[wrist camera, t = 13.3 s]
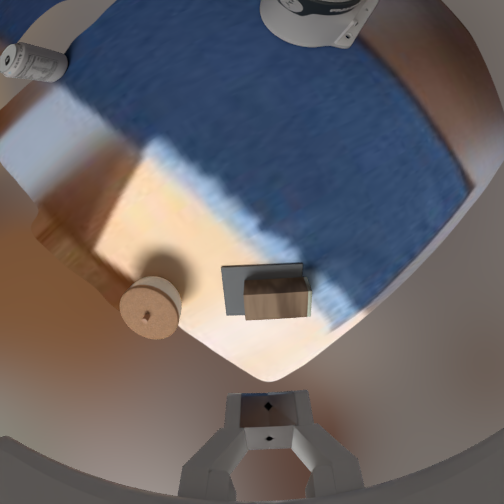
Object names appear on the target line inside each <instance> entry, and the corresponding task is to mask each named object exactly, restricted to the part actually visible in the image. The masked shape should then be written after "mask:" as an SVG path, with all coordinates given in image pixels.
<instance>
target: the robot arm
mask: <svg viewBox="0 0 504 504" xmlns="http://www.w3.org/2000/svg"><path fill="white" fill-rule="evenodd" d="M378 2H379V0H261V3H260V14H261V18H262V20H263V22H264V24H265V25H266V26H267V28H268V29H269V30H270V31H271V32H272V33H273V34H275V35H276V36H277V37H279V38H281V39H282V40H284V41H286V42H289V43H292V44H295V45H298V46H304V47H321V46H334V47H338V48H343V49H347V48H349V47H350V46H351V45H352V43H353V42H354V40H355V38H356V37H357V35H358V34H359V32H360V30H361V29H362V27H363V26H364V24H365V22H366V21H367V19H368V18H369V16H370V14H371V13H372V11H373V10H374V8H375V6H376V5H377V3H378ZM346 36H348V37H349V39H348V38H346ZM269 447H270V449H278V448H280V449H281V448H292V450H293V451H294V452H295V454H296V455H297V456H298V457H299V458H300V459H301V461H302V462H303V463H304V464H305V465H306V466H307V468H308V469H309V470H310V471H311V472H312V473H311V476H310V478H309V481H308V483H307V486H306V489H305V492H306V498H304V499H295V500H282V501H260V502H259V501H258V502H242V501H241V502H240V501H236V490H235V488H234V485H233V483H232V480H231V477H230V474H231V473H232V472H233V470H234V469H235V468H236V466H237V465H238V464H239V462H240V461H241V459H242V458H243V457H244V455H245V454H246V453H247V450H257V449H269ZM0 504H504V428H503V429H501V430H499V431H498V432H496V433H495V434H493V435H491V436H490V437H488V438H486V439H485V440H483V441H481V442H479V443H478V444H476V445H474V446H472V447H470V448H468V449H467V450H465V451H463V452H461V453H459V454H457V455H455V456H453V457H450V458H448V459H446V460H444V461H442V462H439V463H437V464H435V465H432V466H430V467H428V468H425V469H422V470H420V471H417V472H415V473H412V474H409V475H406V476H403V477H401V478H397V479H394V480H391V481H388V482H384V483H381V484H377V485H373V486H370V487H364V483H363V479H362V474H361V470H360V466H359V462H358V458H356V457H355V456H354V455H353V454H352V453H350V452H349V451H348V450H347V449H346V448H345V447H344V446H342V445H341V444H340V443H339V442H338V441H337V440H336V439H334V438H333V437H332V436H331V435H330V434H329V433H328V432H327V431H326V430H324V429H323V428H322V427H321V426H320V425H319V424H314V422H313V416H312V410H311V405H310V399H309V393H308V391H307V390H300V391H285V392H271V393H251V394H250V393H228V396H227V402H226V412H225V423H224V428H220V429H219V430H218V431H217V432H216V433H215V434H214V435H213V436H212V437H211V438H210V439H209V440H208V441H207V443H205V445H204V446H203V447H202V448H201V449H200V450H199V451H198V452H197V453H196V454H195V455H194V456H193V457H192V458H191V459H190V460H189V461H188V462H187V463H186V464H185V465H184V466H183V468H182V473H181V479H180V485H179V491H178V496H173V495H167V494H161V493H155V492H151V491H146V490H142V489H138V488H133V487H129V486H125V485H122V484H118V483H115V482H112V481H108V480H105V479H102V478H99V477H96V476H93V475H90V474H87V473H85V472H82V471H79V470H77V469H74V468H72V467H69V466H67V465H64V464H62V463H60V462H57V461H55V460H53V459H51V458H49V457H47V456H45V455H42V454H40V453H38V452H37V451H35V450H32V449H31V448H29V447H27V446H25V445H23V444H22V443H20V442H18V441H16V440H15V439H13V438H11V437H9V436H3V437H0Z"/></svg>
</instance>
